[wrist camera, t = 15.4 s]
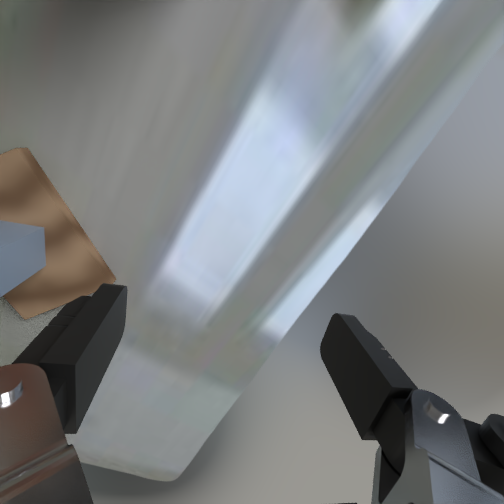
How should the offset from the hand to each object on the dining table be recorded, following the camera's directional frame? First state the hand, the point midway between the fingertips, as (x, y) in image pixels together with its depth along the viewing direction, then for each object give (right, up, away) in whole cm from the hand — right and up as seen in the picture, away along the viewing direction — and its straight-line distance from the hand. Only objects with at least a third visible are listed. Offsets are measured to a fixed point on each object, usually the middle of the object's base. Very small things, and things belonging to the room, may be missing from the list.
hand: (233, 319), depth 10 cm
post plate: (-30, +4, +26) cm, 40 cm away
